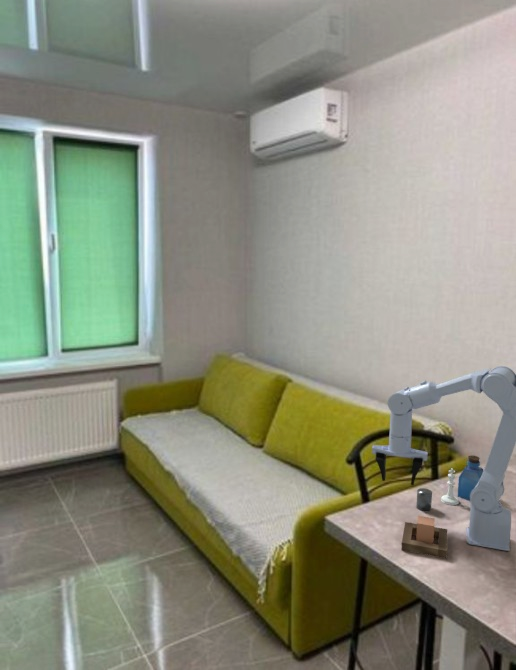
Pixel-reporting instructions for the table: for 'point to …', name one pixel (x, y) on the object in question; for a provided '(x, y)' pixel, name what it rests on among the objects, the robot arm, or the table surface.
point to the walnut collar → (424, 547)
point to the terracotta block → (425, 529)
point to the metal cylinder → (424, 499)
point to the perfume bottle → (469, 477)
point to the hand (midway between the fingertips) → (398, 481)
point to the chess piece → (450, 491)
